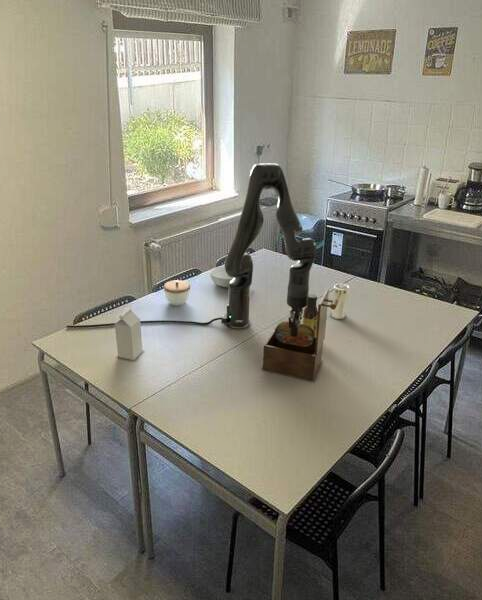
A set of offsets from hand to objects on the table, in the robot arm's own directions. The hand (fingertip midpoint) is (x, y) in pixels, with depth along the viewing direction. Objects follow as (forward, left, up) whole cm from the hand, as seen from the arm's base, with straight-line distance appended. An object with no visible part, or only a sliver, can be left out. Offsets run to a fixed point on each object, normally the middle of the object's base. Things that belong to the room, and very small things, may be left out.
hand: (294, 333), depth 183 cm
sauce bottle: (+1, +23, -14) cm, 27 cm away
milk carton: (-62, -17, -14) cm, 66 cm away
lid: (+9, 0, +7) cm, 12 cm away
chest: (0, 0, -14) cm, 14 cm away
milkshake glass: (+9, +48, -14) cm, 51 cm away
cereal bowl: (-52, +61, -14) cm, 81 cm away
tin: (0, 0, -4) cm, 4 cm away
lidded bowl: (-66, +32, -14) cm, 75 cm away
